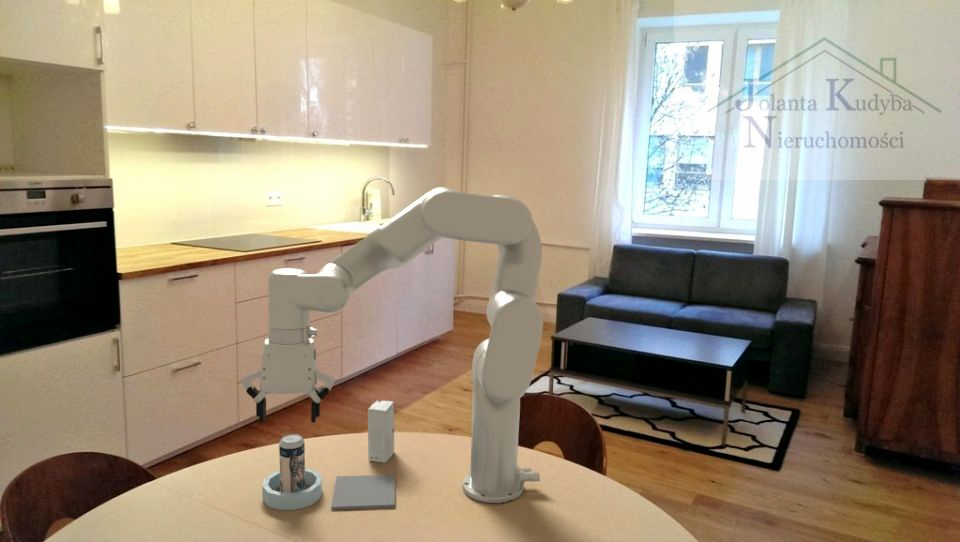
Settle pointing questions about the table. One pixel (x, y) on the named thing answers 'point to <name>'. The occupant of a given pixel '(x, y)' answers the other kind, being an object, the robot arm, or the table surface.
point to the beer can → (292, 463)
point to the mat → (364, 492)
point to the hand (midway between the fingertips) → (288, 419)
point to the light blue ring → (292, 499)
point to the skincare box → (381, 431)
